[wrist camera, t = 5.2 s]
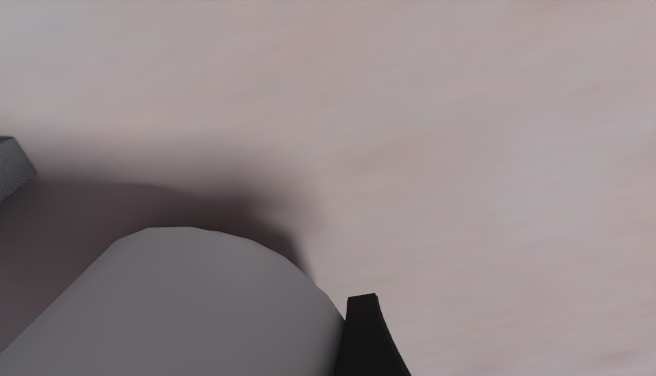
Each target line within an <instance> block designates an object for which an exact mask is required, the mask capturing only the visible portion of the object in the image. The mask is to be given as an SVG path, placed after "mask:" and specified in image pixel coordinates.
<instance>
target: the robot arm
mask: <svg viewBox="0 0 656 376" xmlns="http://www.w3.org/2000/svg"><path fill="white" fill-rule="evenodd" d="M333 376H411V374H410V372H409V370H408V369H407V367H406V365H405V363H404V361H403V359H402V357H401V355H400V353H399V352H398V350H397V348H396V345H395V343H394V341H393V339H392V337H391V335H390V332H389V330H388V328H387V326H386V323H385V320H384V318H383V315H382V312H381V309H380V305H379V301H378V296H376V294H375V293H371V294H365V295H359V296H353V297H348V301H347V312H346V320H345V326H344V332H343V337H342V341H341V346H340V350H339V354H338V358H337V362H336V366H335V370H334V374H333Z"/></svg>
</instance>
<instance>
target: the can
mask: <svg viewBox="0 0 656 376" xmlns="http://www.w3.org/2000/svg"><path fill="white" fill-rule="evenodd" d="M344 326H345V320H344V319H343V317H342V316H341V314H340V313H339V311H338V310H337V308H336V307H335V305H334V304H333V302H332V301H331V300H330V298H329V297H328V295H326V294H325V293H324V292H323V291H322V290H320V289H319V288H318V287H317V286H316V285H315V284H314V282H313V281H312V279H310V278H309V277H308V276H307V275H306V274H304V273H303V272H302V271H301V270H300V269H298V268H297V267H296V266H295V265H294V264H293V263H291V262H290V261H289V260H288V259H287V258H285V257H284V256H282V255H280V254H278V253H276V252H274V251H272V250H270V249H268V248H266V247H264V246H262V245H260V244H259V243H257V242H255V241H253V240H250V239H246V238H242V237H238V236H234V235H230V234H226V233H222V232H218V231H207V230H203V229H199V228H195V227H156V228H146V229H144V230H141V231H139V232H136V233H134V234H131V235H128V236H126V237H123V238H121V239H118V240H116V241H115V242H114V243H113V244H112V245H111V246H110V247H109V248H108V249H107V250H106V251H105V252H104V253H103V254H102V255H101V256H100V257H99V258H98V259H96V260H95V261H94V262H93V263H92V264H91V265H90V266H89V267H88V268H87V269H86V270H85V271H84V272H83V273H82V274H81V275H80V276H79V277H78V278H77V279H76V280H75V281H74V282H73V283H72V284H71V285H70V286H69V287H68V288H67V289H66V290H65V291H64V292H63V293H62V294H61V295H60V296H59V297H58V298H57V299H56V300H55V301H54V302H53V303H52V304H51V305H49V306H48V307H47V308H46V309H45V310H44V311H43V312H42V313H41V314H40V315H39V316H38V317H37V318H36V319H35V320H34V321H33V322H32V323H31V324H30V325H29V326H28V327H27V328H26V329H25V330H24V331H23V332H22V333H21V334H20V335H19V336H18V337H17V338H16V339H15V340H14V341H13V342H12V343H11V344H10V345H9V346H8V347H7V348H6V349H5V350H4V351H2V352H1V353H0V376H333V374H334V370H335V366H336V362H337V358H338V354H339V350H340V346H341V341H342V337H343V332H344Z"/></svg>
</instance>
